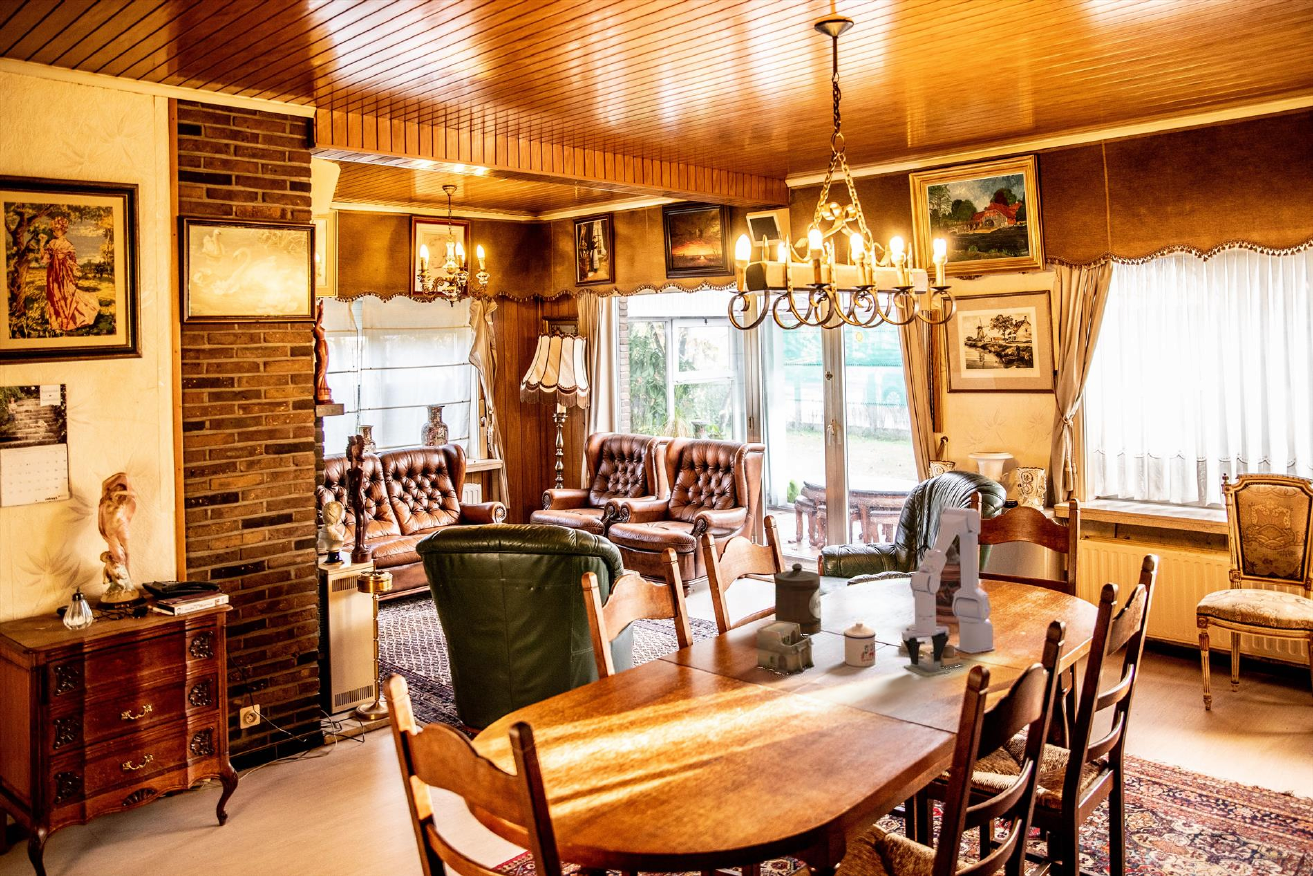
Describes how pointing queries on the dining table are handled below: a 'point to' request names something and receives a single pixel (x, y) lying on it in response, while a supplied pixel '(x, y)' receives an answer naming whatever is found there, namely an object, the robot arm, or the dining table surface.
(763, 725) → the dining table surface
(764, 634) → the miniature house
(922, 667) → the lever cap
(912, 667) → the felt pad
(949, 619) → the beer stein
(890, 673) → the dining table surface
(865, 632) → the teacup with lid
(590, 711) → the dining table surface
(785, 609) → the wooden container
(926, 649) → the plane body
